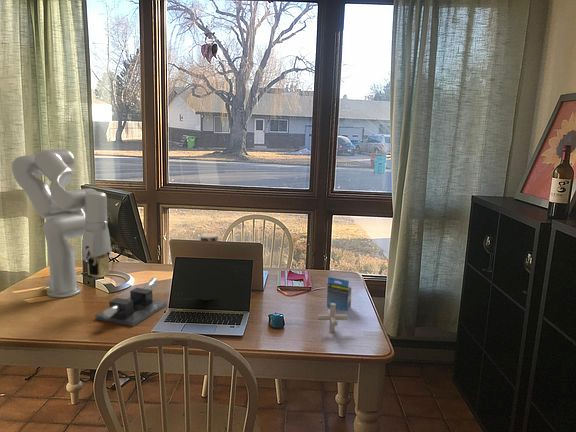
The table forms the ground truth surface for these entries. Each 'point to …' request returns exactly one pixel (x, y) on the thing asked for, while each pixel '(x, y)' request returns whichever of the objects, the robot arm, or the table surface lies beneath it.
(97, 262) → the cream rectangular block
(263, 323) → the table surface
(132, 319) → the shaft bench
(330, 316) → the pipe connector
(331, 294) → the label tape box
